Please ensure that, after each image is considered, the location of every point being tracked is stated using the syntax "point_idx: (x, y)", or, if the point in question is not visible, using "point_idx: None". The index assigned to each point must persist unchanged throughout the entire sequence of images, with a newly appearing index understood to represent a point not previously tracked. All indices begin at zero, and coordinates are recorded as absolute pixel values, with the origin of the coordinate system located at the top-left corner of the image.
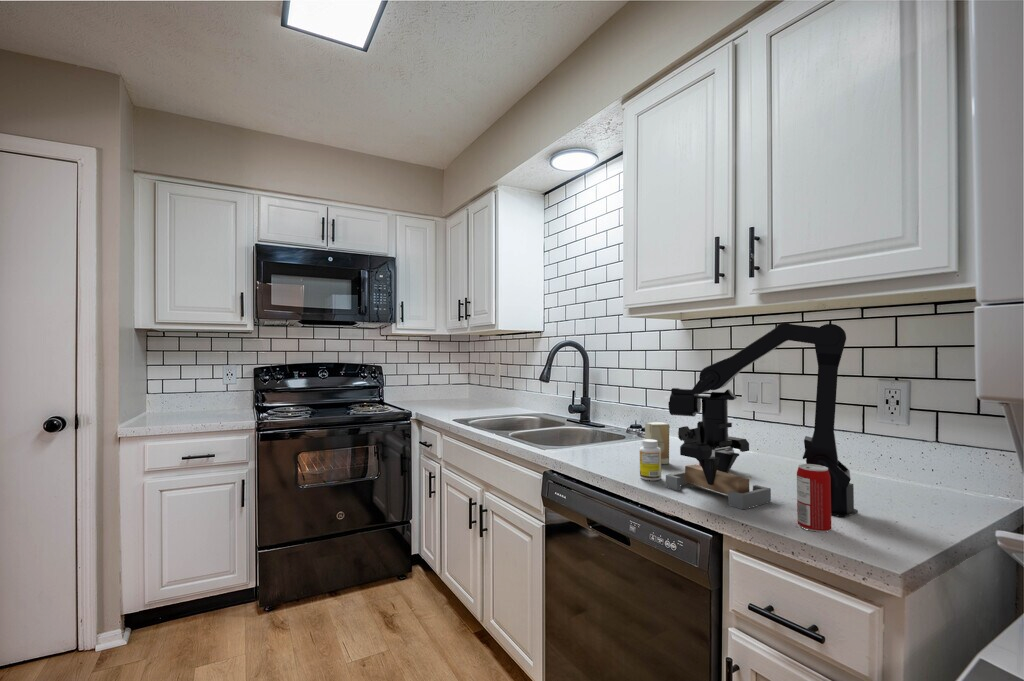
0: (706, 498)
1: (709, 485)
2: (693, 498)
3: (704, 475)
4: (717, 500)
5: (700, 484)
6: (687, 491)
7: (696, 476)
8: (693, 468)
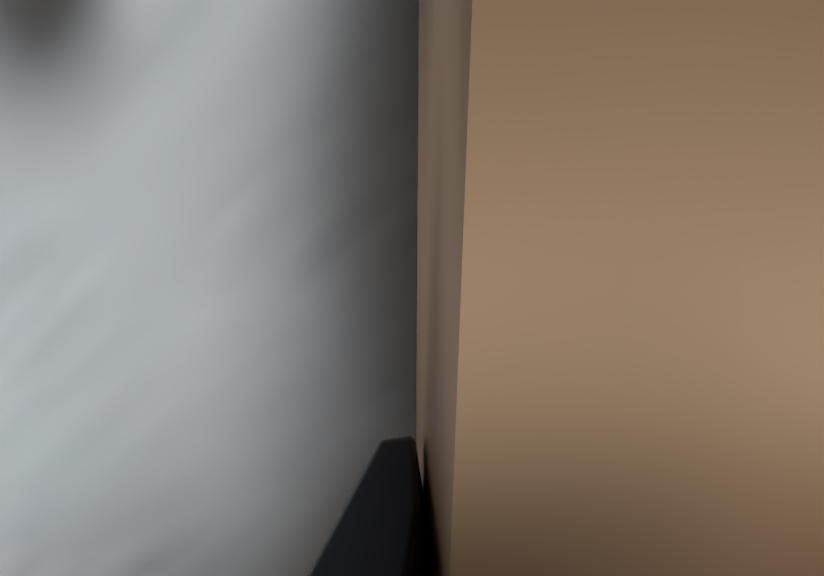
0: (228, 424)
1: (421, 414)
2: (34, 362)
3: (438, 424)
4: (305, 522)
5: (420, 189)
6: (194, 8)
7: (437, 115)
8: (468, 31)
